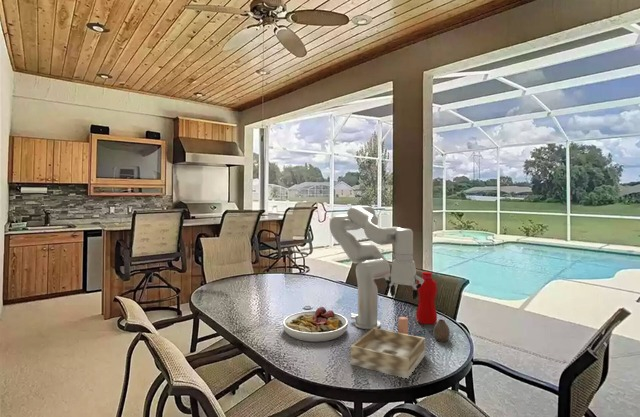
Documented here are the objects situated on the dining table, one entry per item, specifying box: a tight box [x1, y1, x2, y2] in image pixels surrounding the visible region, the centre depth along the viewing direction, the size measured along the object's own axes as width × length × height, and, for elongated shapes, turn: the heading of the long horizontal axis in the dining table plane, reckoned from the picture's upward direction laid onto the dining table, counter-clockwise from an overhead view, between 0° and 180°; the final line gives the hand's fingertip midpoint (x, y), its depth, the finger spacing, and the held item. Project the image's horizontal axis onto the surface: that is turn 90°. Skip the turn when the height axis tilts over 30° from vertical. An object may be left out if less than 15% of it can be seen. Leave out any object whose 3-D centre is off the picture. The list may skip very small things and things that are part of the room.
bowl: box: [282, 306, 349, 343], centre depth 175 cm, size 30×30×8 cm
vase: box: [432, 318, 451, 343], centre depth 164 cm, size 7×7×9 cm
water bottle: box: [416, 271, 438, 325], centre depth 187 cm, size 9×11×25 cm
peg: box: [397, 316, 409, 335], centre depth 163 cm, size 4×4×10 cm
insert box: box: [350, 328, 426, 380], centre depth 145 cm, size 22×22×7 cm
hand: (403, 296), depth 162 cm, fingers open, 9 cm apart
